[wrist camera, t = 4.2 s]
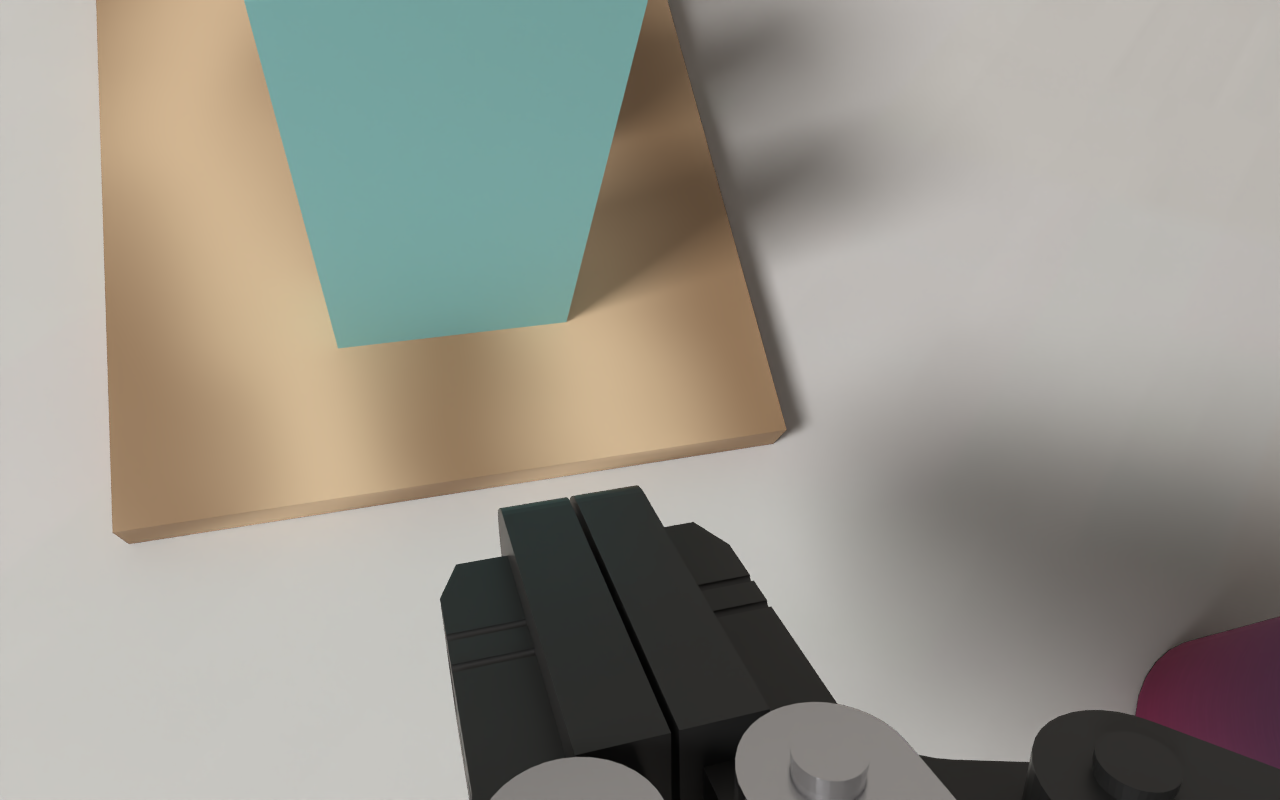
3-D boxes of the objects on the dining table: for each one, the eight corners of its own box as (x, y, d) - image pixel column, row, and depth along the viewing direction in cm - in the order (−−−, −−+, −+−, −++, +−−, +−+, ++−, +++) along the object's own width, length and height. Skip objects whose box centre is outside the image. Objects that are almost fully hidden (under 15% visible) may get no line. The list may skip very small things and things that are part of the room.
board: (575, -284, 30) (579, -317, 30) (772, 443, 22) (786, 429, 22) (98, -305, 27) (85, -343, 26) (129, 544, 19) (112, 532, 18)
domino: (553, 260, 22) (626, -104, 13) (566, 322, 22) (650, -12, 12) (330, 282, 21) (234, -102, 12) (338, 348, 20) (243, 0, 11)
